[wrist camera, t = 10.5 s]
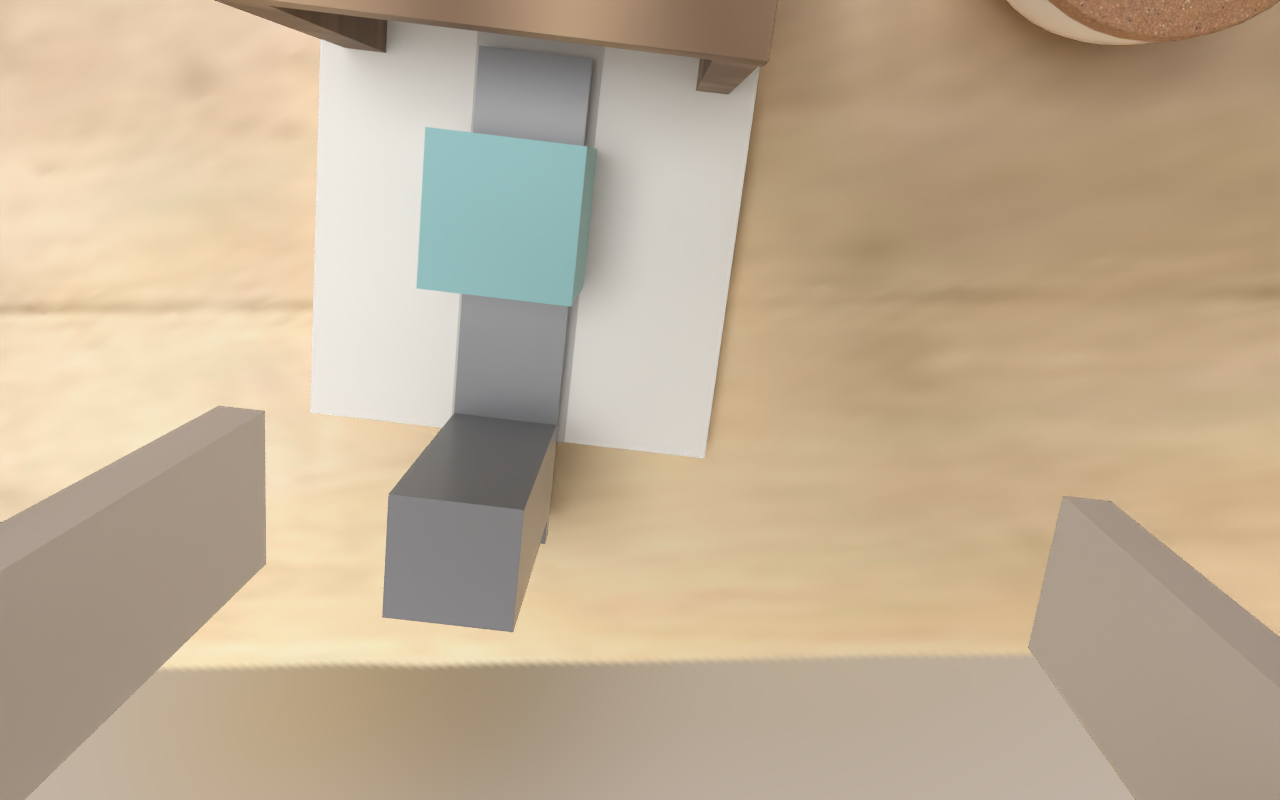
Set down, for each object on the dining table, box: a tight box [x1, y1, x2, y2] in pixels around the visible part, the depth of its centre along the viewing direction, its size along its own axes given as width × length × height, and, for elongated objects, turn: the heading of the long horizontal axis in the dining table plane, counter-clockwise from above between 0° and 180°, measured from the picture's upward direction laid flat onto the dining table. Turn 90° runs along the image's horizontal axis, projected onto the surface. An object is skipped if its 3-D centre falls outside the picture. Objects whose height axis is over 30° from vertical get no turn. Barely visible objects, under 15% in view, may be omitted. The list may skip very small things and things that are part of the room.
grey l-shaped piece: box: [382, 45, 594, 632], centre depth 31 cm, size 4×18×10 cm, turn 173°
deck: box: [310, 20, 760, 458], centre depth 34 cm, size 16×32×2 cm, turn 173°
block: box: [416, 127, 597, 307], centre depth 31 cm, size 5×5×5 cm
